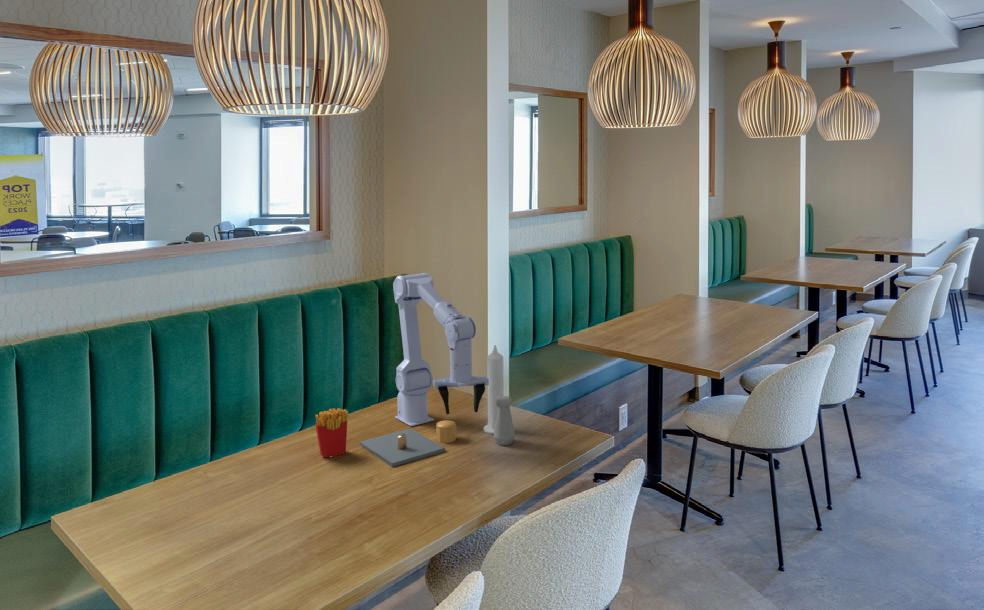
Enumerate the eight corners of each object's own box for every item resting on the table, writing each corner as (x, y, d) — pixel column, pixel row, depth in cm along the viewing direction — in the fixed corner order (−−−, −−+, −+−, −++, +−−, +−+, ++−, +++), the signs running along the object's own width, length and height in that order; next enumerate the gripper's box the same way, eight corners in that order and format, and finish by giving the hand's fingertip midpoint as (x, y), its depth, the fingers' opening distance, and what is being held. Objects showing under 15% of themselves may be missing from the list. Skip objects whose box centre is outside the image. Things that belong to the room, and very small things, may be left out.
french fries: (320, 459, 193) (317, 415, 191) (316, 454, 196) (313, 411, 194) (351, 453, 197) (349, 410, 194) (347, 448, 200) (345, 405, 198)
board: (359, 445, 202) (359, 441, 202) (410, 431, 211) (410, 428, 211) (392, 466, 188) (392, 463, 188) (445, 451, 197) (445, 447, 197)
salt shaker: (514, 446, 200) (514, 400, 197) (493, 446, 200) (493, 400, 197) (514, 438, 206) (514, 393, 203) (493, 438, 206) (493, 393, 203)
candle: (479, 427, 214) (478, 343, 209) (501, 423, 217) (501, 340, 212) (489, 436, 208) (488, 349, 203) (512, 431, 211) (512, 346, 205)
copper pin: (396, 449, 198) (395, 435, 197) (403, 447, 199) (403, 433, 198) (400, 452, 196) (400, 438, 195) (408, 450, 197) (408, 435, 196)
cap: (433, 438, 206) (432, 423, 205) (448, 434, 209) (448, 419, 208) (443, 444, 202) (443, 428, 201) (459, 439, 205) (459, 424, 204)
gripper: (435, 369, 191) (436, 419, 194) (490, 365, 193) (491, 415, 196) (432, 361, 198) (433, 409, 201) (485, 358, 200) (486, 406, 203)
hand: (461, 412), depth 199 cm, fingers open, 7 cm apart
